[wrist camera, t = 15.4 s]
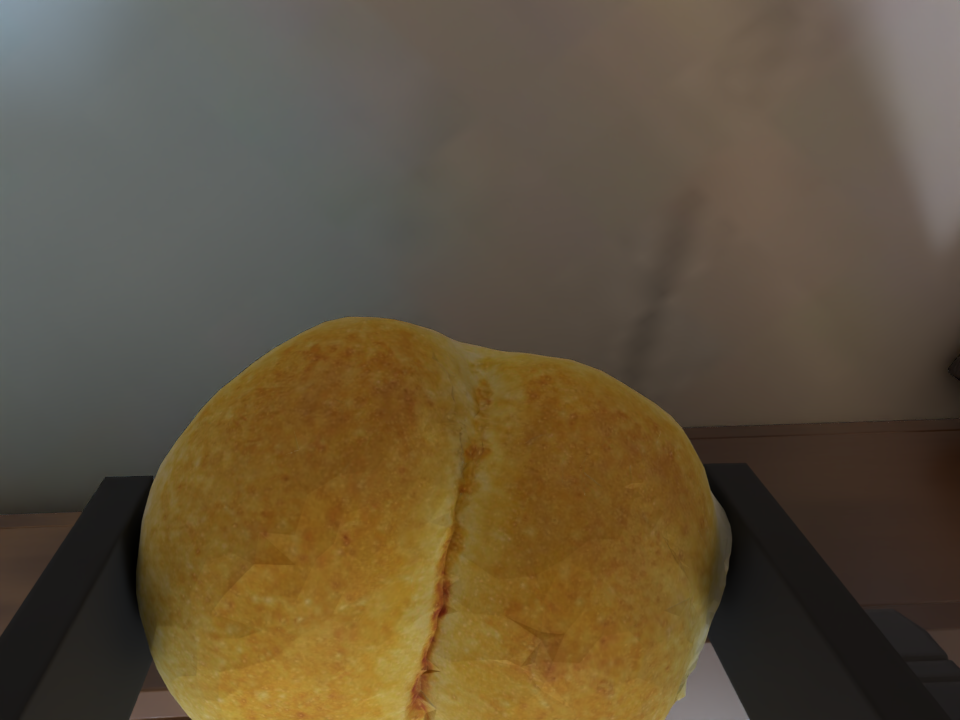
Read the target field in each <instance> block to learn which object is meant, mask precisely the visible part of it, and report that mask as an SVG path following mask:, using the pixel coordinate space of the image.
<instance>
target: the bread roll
mask: <svg viewBox="0 0 960 720" xmlns="http://www.w3.org/2000/svg"><path fill="white" fill-rule="evenodd" d="M731 547H732V533H731V526H730V523H729V521H728V518H727V516H726V513H725V511H724V509H723V508H722V506H721V505H720V503H719V502H718V501H717V499H716V498H715V496H714V495H713V493H712V492H711V490H710V486H709V483H708V479H707V475H706V472H705V468H704V466H703V464H702V462H701V461H700V459H699V457H698V455H697V453H696V451H695V449H694V447H693V446H692V444H691V442H690V440H689V438H688V437H687V435H686V434H685V432H684V430H683V429H682V428H681V427H680V425H679V424H678V423H677V422H676V421H675V420H674V418H673V417H672V416H670V415H669V414H668V413H667V412H665V411H664V410H663V409H662V408H660V407H659V406H658V405H657V404H655V403H654V402H652V401H651V400H649V399H648V398H646V397H644V396H643V395H641V394H640V393H638V392H636V391H635V390H633V389H632V388H630V387H628V386H627V385H625V384H624V383H622V382H620V381H619V380H617V379H615V378H613V377H612V376H610V375H608V374H607V373H605V372H603V371H601V370H599V369H596V368H593V367H590V366H588V365H585V364H582V363H579V362H577V361H574V360H570V359H564V358H557V357H550V356H544V355H537V354H530V353H523V352H504V351H499V350H494V349H490V348H486V347H482V346H477V345H472V344H467V343H462V342H459V341H456V340H454V339H451V338H449V337H447V336H445V335H443V334H441V333H439V332H437V331H435V330H432V329H429V328H425V327H422V326H418V325H415V324H412V323H408V322H404V321H399V320H395V319H387V318H378V317H344V318H339V319H335V320H330V321H326V322H323V323H321V324H319V325H317V326H314V327H312V328H310V329H308V330H306V331H304V332H302V333H300V334H298V335H296V336H295V337H293V338H291V339H289V340H287V341H286V342H284V343H282V344H280V345H279V346H277V347H275V348H274V349H272V350H271V351H269V352H268V353H266V354H265V355H263V356H262V357H261V358H259V359H258V360H256V361H255V362H254V363H252V364H251V365H250V366H249V367H247V368H246V369H245V370H244V371H242V372H241V373H240V374H239V375H238V376H236V377H235V378H234V379H233V380H231V381H230V382H229V383H228V384H226V385H225V386H224V387H222V388H221V389H220V390H219V391H218V392H217V393H216V394H215V395H214V396H213V397H212V398H211V399H210V400H209V401H208V402H207V403H206V404H205V405H204V406H203V408H202V409H201V410H200V411H199V412H198V414H197V415H196V416H195V418H194V419H193V420H192V421H191V423H190V424H189V425H188V427H187V428H186V429H185V430H184V432H183V433H182V434H181V435H180V437H179V438H178V439H177V441H176V442H175V444H174V445H173V447H172V448H171V450H170V451H169V453H168V454H167V456H166V457H165V459H164V460H163V462H162V463H161V465H160V467H159V469H158V472H157V474H156V477H155V479H154V481H153V484H152V486H151V489H150V492H149V496H148V500H147V504H146V507H145V511H144V515H143V518H142V523H141V533H140V543H139V551H138V559H137V567H136V595H137V601H138V607H139V613H140V617H141V621H142V624H143V627H144V630H145V634H146V638H147V641H148V645H149V649H150V652H151V655H152V657H153V660H154V663H155V665H156V668H157V670H158V672H159V674H160V675H161V677H162V679H163V681H164V683H165V684H166V686H167V688H168V690H169V691H170V693H171V695H172V696H173V697H174V698H175V700H176V701H177V702H178V703H179V705H180V706H181V707H182V709H183V710H184V711H185V712H186V714H187V715H188V716H189V717H190V718H191V719H192V720H665V718H666V716H667V715H668V713H669V711H670V709H671V707H672V706H673V705H674V704H675V702H676V701H677V700H678V701H679V700H680V699H682V698H683V697H685V696H686V682H687V679H688V676H689V675H690V674H691V673H692V671H693V670H694V669H695V668H696V664H697V661H698V658H699V655H700V652H701V651H702V649H703V646H704V644H705V641H706V638H707V635H708V631H709V628H710V625H711V622H712V620H713V617H714V615H715V612H716V611H717V609H718V607H719V604H720V602H721V598H722V595H723V592H724V588H725V585H726V575H727V572H728V569H729V558H730V554H731Z"/></svg>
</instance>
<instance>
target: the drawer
mask: <svg viewBox="0 0 960 720" xmlns="http://www.w3.org/2000/svg"><path fill="white" fill-rule="evenodd" d="M81 513H82V512H60V513H34V514H8V515H0V636H1V635H2V633H3V632H4V630H5V629H6V627H7V626H8V624H9V622H10V621H11V619H12V618H13V616H14V615H15V613H16V612H17V610H18V609H19V607H20V606H21V604H22V603H23V601H24V600H25V598H26V597H27V595H28V594H29V592H30V591H31V589H32V588H33V586H34V585H35V583H36V582H37V580H38V579H39V577H40V576H41V574H42V572H43V571H44V569H45V568H46V566H47V565H48V563H49V562H50V560H51V559H52V557H53V556H54V554H55V553H56V551H57V550H58V548H59V547H60V545H61V544H62V542H63V541H64V539H65V538H66V536H67V535H68V533H69V532H70V530H71V529H72V527H73V526H74V524H75V522H76V521H77V519H78V518H79V516H80V515H81ZM129 720H192V719H191V718H190V717H189V716H188V715H187V714H186V712H185V711H184V710H183V709H182V707H181V706H180V705H179V703H178V702H177V701H176V700H175V698H174V697H173V696H172V695H171V693H170V691H169V690H168V688H167V686H166V684H165V683H164V681H163V679H162V677H161V675H160V674H159V672H158V670H157V668H156V665H155V663H154V660H152V663H151V665H150V668H149V670H148V673H147V676H146V678H145V681H144V683H143V686H142V688H141V691H140V693H139V696H138V698H137V701H136V704H135V706H134V709H133V711H132V714H131V716H130V719H129Z"/></svg>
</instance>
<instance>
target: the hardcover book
mask: <svg viewBox="0 0 960 720" xmlns="http://www.w3.org/2000/svg"><path fill="white" fill-rule="evenodd" d="M948 372H949V373H950V374H951V375H952V376H954V377H955V378H956V379H958V380H959V381H960V355H959V356H958V358H957V359H956V360H955V361H954V362H953V363H952V365H951V366H950V367H949V368H948Z"/></svg>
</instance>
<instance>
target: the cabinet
mask: <svg viewBox="0 0 960 720" xmlns="http://www.w3.org/2000/svg"><path fill="white" fill-rule="evenodd" d="M682 429H683V430H684V432H685V434H686V435H687V437H688V438H689V440H690V442H691V444H692V446H693V447H694V449H695V451H696V453H697V455H698V457H699V459H700V461H701V462H702V464H711V463H747V464H748V466H749V467H750V468H751V469H752V471H753V472H754V473H755V474H756V476H757V477H758V478H759V479H760V481H761V482H762V483H763V484H764V486H765V487H766V488H767V489H768V491H769V492H770V493H771V494H772V496H773V497H774V498H775V499H776V501H777V502H778V503H779V504H780V506H781V507H782V508H783V509H784V511H785V512H786V513H787V514H788V516H789V517H790V518H791V519H792V521H793V522H794V523H795V524H796V526H797V527H798V528H799V529H800V531H801V532H802V533H803V534H804V536H805V537H806V538H807V539H808V541H809V542H810V543H811V544H812V546H813V547H814V548H815V549H816V551H817V552H818V553H819V554H820V556H821V557H822V558H823V559H824V561H825V562H826V563H827V564H828V566H829V567H830V568H831V569H832V571H833V572H834V573H835V574H836V576H837V577H838V578H839V579H840V581H841V582H842V583H843V584H844V586H845V587H846V588H847V589H848V591H849V592H850V593H851V594H852V596H853V597H854V598H855V599H856V601H857V602H858V603H859V604H860V606H861V607H862V608H863V609H892V608H893V609H894V610H896V611H897V612H899V613H901V614H902V615H904V616H905V617H907V618H908V619H910V620H911V621H913V622H914V623H916V624H918V625H919V626H921V627H922V628H924V629H925V630H926V631H927V632H928V633H929V634H930V635H931V636H932V638H933V639H934V640H935V641H936V642H937V643H938V644H939V646H940V647H941V648H942V649H943V650H944V651H945V652H946V654H947V655H948V659H949V660H953V662H954V663H955V664H956V665H957V666H958V667H959V668H960V419H938V420H907V421H877V422H846V423H816V424H785V425H755V426H724V427H694V428H682ZM665 720H750V719H749V717H748V715H747V713H746V711H745V709H744V707H743V706H742V704H741V702H740V700H739V698H738V696H737V694H736V692H735V690H734V688H733V686H732V684H731V682H730V680H729V678H728V676H727V674H726V672H725V670H724V668H723V666H722V664H721V662H720V660H719V658H718V656H717V654H716V652H715V650H714V648H713V646H712V644H711V642H710V640H709V638H708V636H707V638H706V641H705V644H704V646H703V649H702V651H701V652H700V655H699V658H698V661H697V664H696V668H695V669H694V670H693V671H692V673H691V674H690V675H689V676H688V679H687V682H686V696H685V697H683V698H682V699H680V700H679V701H678V700H677V701H676V702H675V704H674V705H673V706H672V707H671V709H670V711H669V713H668V715H667V716H666V718H665Z"/></svg>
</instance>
